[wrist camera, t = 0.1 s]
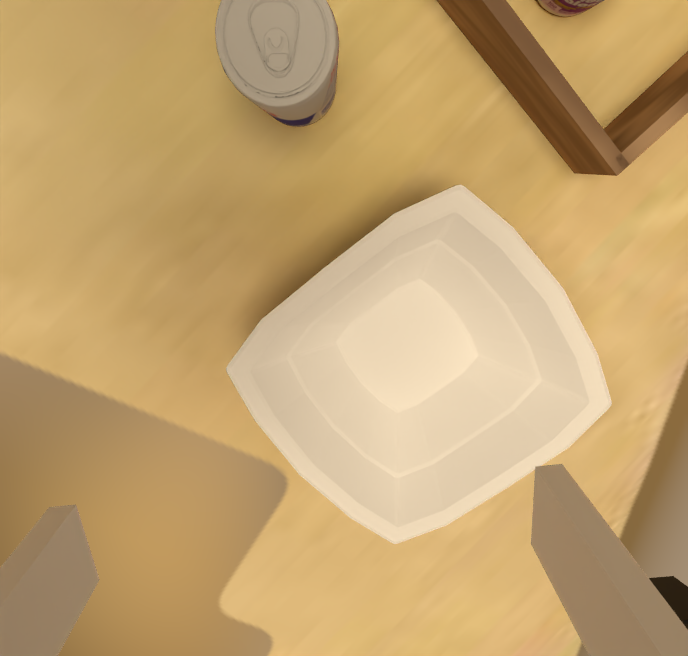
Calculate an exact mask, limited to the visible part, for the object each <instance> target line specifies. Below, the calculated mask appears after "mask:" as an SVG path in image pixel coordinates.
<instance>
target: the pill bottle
mask: <svg viewBox="0 0 688 656" xmlns="http://www.w3.org/2000/svg"><path fill="white" fill-rule="evenodd" d="M602 1H604V0H538V2H539V3H540V5H541V6H542V7H543V8H544V9H546V10H547V11H549V12H550V13H552V14H555V15H559V16H574V15H577V14H580V13H582V12H584V11H586V10H588V9H590V8H592V7H593V6H595V5H597V4H599V3H600V2H602Z"/></svg>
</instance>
